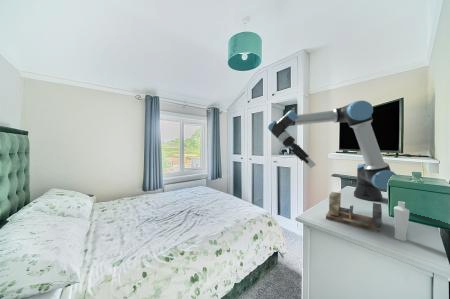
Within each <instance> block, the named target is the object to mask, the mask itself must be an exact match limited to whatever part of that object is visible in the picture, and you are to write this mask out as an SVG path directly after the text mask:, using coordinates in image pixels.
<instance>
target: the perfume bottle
mask: <svg viewBox="0 0 450 299" xmlns="http://www.w3.org/2000/svg"><path fill="white" fill-rule="evenodd" d="M397 202H398V203H397V205H396V206H394V207H393V217H394V234H393V235H394V236H393V238H394V239H397V240H398V241H403V242H404V241H405V242H406V241H408V239H407V232H408V224H409V220H410V212H411V211H410V209H408V208H406V202H405V201H400V200H399V201H397Z"/></svg>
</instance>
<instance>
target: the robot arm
mask: <svg viewBox="0 0 450 299" xmlns="http://www.w3.org/2000/svg"><path fill="white" fill-rule="evenodd" d="M373 113H374V107H373V105H372V104H371V103H370V101H366V100H356V101H353V102H350V103H348V104H347V105H344V106H341V107H338V108H333V109H332V110H327V111H318V112H309V113H303V114H302V113H301V114H297V113H296V112H295V111H293V110H291V109H290V110H289V111H288V112H285V114H284V115H282V117H281V118H280V119H279V120H278V121H276V120H273V121H272V122H270V123H269V124H268V127H267V129H268V130H269V131H270V132H271V134H272V135H273V136H274V137H276V139H277V140H278V141H279V142H280V143H281V144H282V145H283V146H284V147H285V148H288V149H289V150H290V152H292V153H293V154H294V155H295V156H296V157H297V158H298V159H299V160H300V161H301V162H302V161H303V162H304V163H305V164H306V165H307V166H308V167H309V169H312V168H314V167H316V166H317V164H316V163H315V162H314V161H313V160H312V158H310V155H309V154H307V152H306V151H305V150H304V149H303V148H302V147H301V146H300V145H299V144H297V143H295V141H296V139H295V138H294V137H293V136H292V135H291V134H290V133H289V132H288V131H287V130H286V129H288V128H289V127H292V126H302V125H311V124H320V123H329V122H333V123H335V124H336V123H347V124H348V126H349V128H352V130H353V132H354V134H355V138H356V140H357V143H358V146H359V149H360V152H361V154H362V158H363V161H364V163H359V164H357V171H356V172H357V173H356V178H357V179H356V186H355V189H354V191H353V196H354V198H358V199H360V200H364V201H371V202H380V201H383V200H384V199H383V195H382V194H383V193H382V191H381V190H388V189H387V183H388V180H389V179H390V177H391V176H392V175H397V174H396V173H395V172H394V171H392V170H391V168H390V165H389V163H387V162H386V161H384V157H383V155H382V152H381V149H380V146H379V144H378V140H377V138H376V135H375V132H374V129H373V126H372V124H371V123H373V120H374V119H373V117H372V114H373Z"/></svg>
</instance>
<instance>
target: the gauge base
mask: <svg viewBox="0 0 450 299" xmlns="http://www.w3.org/2000/svg"><path fill="white" fill-rule="evenodd" d="M382 218H383V211H382V204H381V203H376V202H372V216H367V215H362V214H359V213H358V214H357V213H354V212H353V215H352V218H351V220H349V213H347V212H342V211H340V213H339V216H335V215H331V214H329V211H328V212H327V213H326V215H325V219H326V220H328V221H329V220H330V221H334V222H337V223H341V224H346V225H349V226H353V227H357V228H360V229H366V230H370V231H372V232H376V233H378V232H379V230H382V225H383V224H382Z"/></svg>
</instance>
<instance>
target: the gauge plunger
mask: <svg viewBox="0 0 450 299" xmlns="http://www.w3.org/2000/svg"><path fill="white" fill-rule="evenodd" d="M341 194H342V193H341V192H335V191H331V192H330V193H329V195H328V196H329V198H328V200H329V201H328V203H329V204H328V206H329V208H328V212H329V214H331V215H335V216H339V213H340V211H342V212H347V213H349V209H350V208H345V207H341V202H342V201H341V199H342V198H341Z"/></svg>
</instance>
